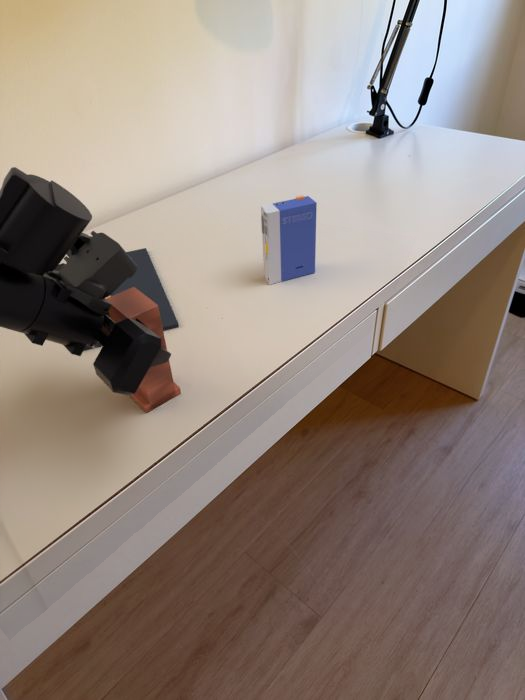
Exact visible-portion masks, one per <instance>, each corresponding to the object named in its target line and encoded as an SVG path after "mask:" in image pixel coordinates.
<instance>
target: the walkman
mask: <svg viewBox="0 0 525 700" xmlns="http://www.w3.org/2000/svg"><path fill="white" fill-rule="evenodd" d="M317 203H318V202H316V201H315V199H313V198H312V197H310V196H309V195H306V196H305V195H304V194H303V195H298V196H295V198H293V199H288V200H287V199H286V200H281V201H279V202H278V201H277V202H273V203H268V204H264V205H260V214H261V215H260V223H261V236H262V237H261V239H262V257H263V258H262V260H263V261H262V262H263V276H264V278H265V281H266V282H267V283H268V284H269V285H273V284H278V283H281V282H285V281H288V280H292V279H296V278H300V277H304V276H308V275H311V274H315V273H316V249H317V246H316V243H317V206H318V205H317Z"/></svg>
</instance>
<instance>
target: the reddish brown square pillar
mask: <svg viewBox="0 0 525 700" xmlns="http://www.w3.org/2000/svg"><path fill="white" fill-rule="evenodd" d="M105 300H107V301H108V302H110V303H111V304H112V306H111V308H110V310H109V315H110V318H111V319H113V320H114V321H115V322H116V323H117V322H120V321H122V320H124V319H126V318H130V319H133V320H136V318H137V319H139V320H140V321H141V322H142V323H143V324H145V325H146V326H147V327H148V328H149V329H150V330H151V331H153V332H154V333H155V334H156V335H157V336H159V337H160V338H161V345H162V348H164V349H165V350H167V351H168V348H167V342H166V337H165V332H164V331H163V327H162V322H161V317H160V312H159V308H158V305H157V304H156V303H154V302H153V301H152V300H151V299H149V298H148V297H147V296H145V295H144V294H143V293H141V292H140V291H139V290H137V289H136V288H135V287H132V288H130V289H128V290H125V291H123V292H121V293H118V294H116V295H114V296H111V297H109V298H107V299H105ZM180 394H182V391H181V387H180V385H178V384H177V383H176V382H175V381H174V377H173V371H172V367H171V362H170V359H169V360H168V361H167V362H166V363H163V364H160V365H157V366H153V367H150V368H149V370H148V371H147V373H146V375H145V377H144V378H143V380H142V382H141V384H140V385H139V387H138V389H137V391H136V393H135V394H133V395H130V396H129V397H130V398H131V399H132V400H133V401H134V402H135V403H136V404H137V405H138V406H139V407H140V408H141V409H142V410H143V412H145V413H146V414H148V413H150V412H151V411H153V410H154V409H156V408H158V407H159V406H161V405H164V404H165V403H167V402H169V401H170V400H172V399H174V398H175V397H177V396H179V395H180Z"/></svg>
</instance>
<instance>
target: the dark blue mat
mask: <svg viewBox="0 0 525 700" xmlns="http://www.w3.org/2000/svg"><path fill="white" fill-rule="evenodd" d="M126 253H127V254H128V255H129V256H130V257H131V259H132V260H133V261H134V262H135V263H136V265H137V271H136V273H135V274H134V275H133V276H132V277H131V278H128V279H127V280H126V281H125V282H124V283H122V284H121V285H120V286H119V287H118V288H117V289H116V290H115V291H114V292H113V293H112V294H111V295H110V296H108V297H106V298H105V299H107V298H109V297H111V296H114V295H116V294H118V293H121V292H123V291H125V290H128V289H130V288H132V287H135V288H136V289H137V290H139V291H140V292H141V293H143V294H144V295H145V296H147V297H148V298H149V299H151V300H152V301H153V302H154V303H156V304H157V305H158V308H159V312H160V317H161V322H162V327H163V332H164V331H168V330H171V329H175V328H179V327H180V325H179V322H178V319H177V317H176V315H175V312H174V310H173V308H172V305H171V303H170V300H169V298H168V295H167V294H166V291H165V289H164V287H163V284H162V282H161V280H160V277H159V275H158V273H157V271H156V267H155V265H154V263H153V261H152V258H151V256H150V254H149V251H148V250H147V247H144V248H140V249H135V250H128V251H126ZM99 347H103V346H102V345H101V344H100V343H99V342H98V343H97V345H96V347H95V348H99ZM91 349H92V348H91V347H90V346H89V345H86V347H85V349H84V351H87V350H91Z"/></svg>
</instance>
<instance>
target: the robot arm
mask: <svg viewBox="0 0 525 700" xmlns="http://www.w3.org/2000/svg"><path fill="white" fill-rule="evenodd" d="M92 219H93V215H92V213H91V212H90V210H89V208H87V206H86V205H85V204H84V203H83V202H82V201H81V200H80V199H79V198H78V197H76V196H75V195H74V194H73V193H72V192H70V191H69V190H67V189H66V188H65V187H63V186H62V185H60V184H59V183H57V182H55V180H50V181H49V180H47V179H45V178H43V177H41V176H38V175H35V174H32V173H31V174H27V173H25V172H24V171H22V169H21V170H20V169H19V168H18V167H15V166H13V167H11V168H10V169H9V170H8V172H7V174H6V175H5V177H4V178H3V180H2V184H1V188H0V328H3V329H7V330H11V331H14V332H17V333H21V334H24V335H25V337H26V338H27V339H28V340H29V341H30V343H32V344H33V345H38V346H41V347H43V345H44V344H45V342H46V341H48V342H52V343H55V344H59V345H62V346H63V347H64V348H65V349H66V350H67V351H68V353H70V354H71V355H75V356H78V357H81V356H82V354H83V352H84V351H85V350H84V349H85V347H86V345H89V346H90V347H91V349H95V348H97V347H96V345H97V343H98V342H99V343H100V344H101V345H102V346H101V349H100V350H99V352H98V354H97V356H96V358H95V359H94V361H93V363H92V365H93V369H94V371H95V374H96V376H97V377H98V378H99V379H100V380H101V381H102V382H103V383H104V384H105V385H106V387H108V388H109V390H110V391H112V393H115V394H119V395H122V396H123V395H124V396H129V397H130V395H133V394H135V393H136V391H137V389H138V387H139V385H140V384H141V382H142V380H143V378H144V377H145V375H146V373H147V371H148V370H149V368H150V367H153V366H157V365H160V364H163V363H166V362H167V361H168V360H169V361H170V358H171V357H172V353H171V351H168V349H167V350H165V349H164V348H162V345H161V338H160V337H159V336H157V335H156V334H155V333H154V332H153V331H151V330H150V329H149V328H148V327H147V326H146V325H145V324H143V323H142V322H141V321H140V320H139V319H137V318H136V320H133V319H130V318H126V319H124V320H122V321H120V322H117V323H116V322H115V321H114V320H113V319H111V318H110V315H109V310H110V308H111V306H112V304H111V303H110V302H108V301H107V300H105V298H106V297H108V296H110V295H111V294H112V293H113V292H114V291H115V290H116V289H117V288H118V287H119V286H120V285H121V284H122V283H124V282H125V281H126V280H127V279H128V278H131V277H132V276H133V275H134V274H135V273H136V271H137V265H136V263H135V262H134V261H133V260H132V259H131V257H130V256H129V255H128V254H127V253H126V252H127V251H126V250H125V249H124V248H123V247H122V245H121V244H120V243H119V242H118V241H116V240H114V239H113V238H112V237H110V236H109V235H107V234H106V233H105V232H98V233H97V232H96V231H95V230H92V231H91V232H90V235H88V234H87V233H84V231H85V229H86V228H87V226H88V225H89V224H90V222H91V221H92ZM63 260H64V261H65V262H66V263H65V262H62V261H63Z"/></svg>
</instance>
